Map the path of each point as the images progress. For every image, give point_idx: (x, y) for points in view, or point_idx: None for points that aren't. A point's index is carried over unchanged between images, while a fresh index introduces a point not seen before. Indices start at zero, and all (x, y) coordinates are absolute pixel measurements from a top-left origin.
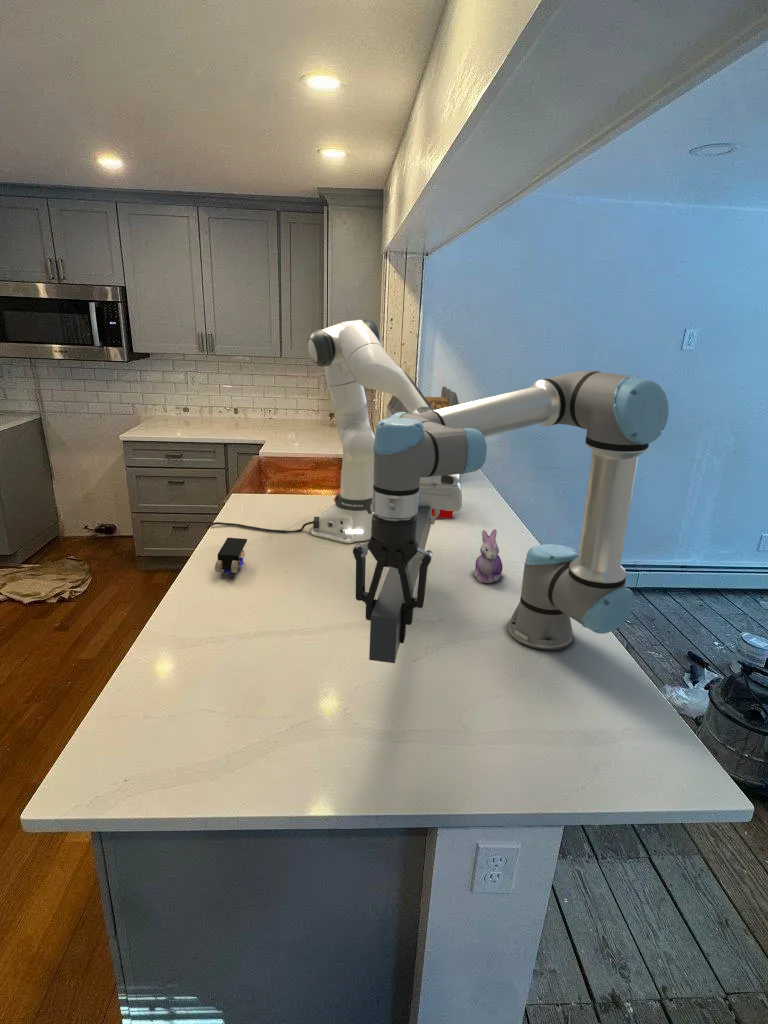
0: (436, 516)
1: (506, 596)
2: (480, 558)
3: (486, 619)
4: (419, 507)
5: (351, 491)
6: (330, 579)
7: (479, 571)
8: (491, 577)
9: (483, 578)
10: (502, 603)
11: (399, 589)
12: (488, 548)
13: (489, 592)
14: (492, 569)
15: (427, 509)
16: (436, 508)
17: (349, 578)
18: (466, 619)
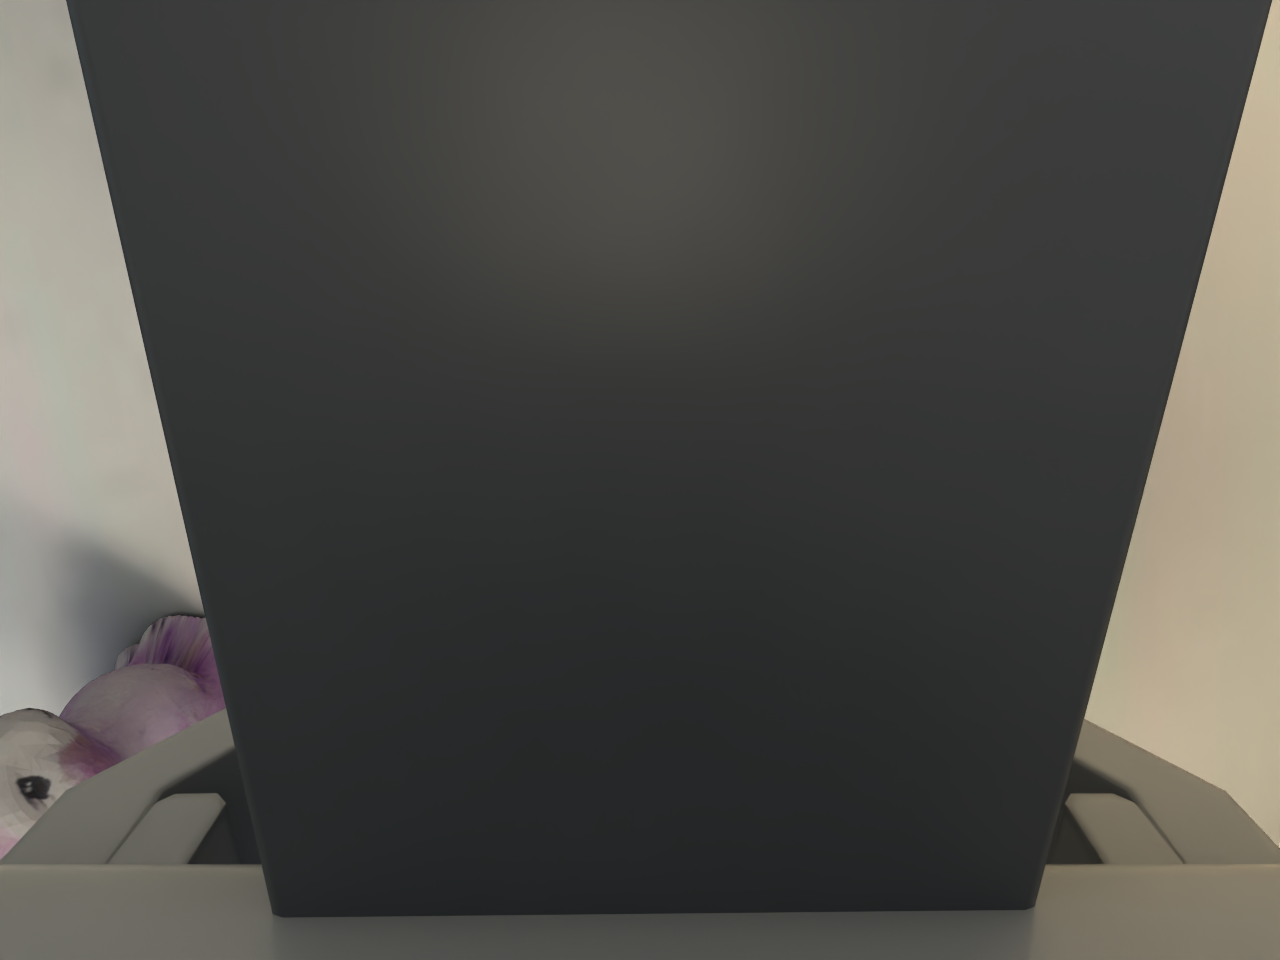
0: (219, 723)
1: (12, 472)
2: None
3: (61, 80)
4: (744, 707)
5: None
6: (1265, 424)
7: (208, 680)
8: (135, 653)
9: (193, 639)
10: (12, 364)
11: None
12: (2, 797)
13: (137, 500)
14: (89, 683)
15: (275, 519)
16: (17, 877)
17: None
18: None
